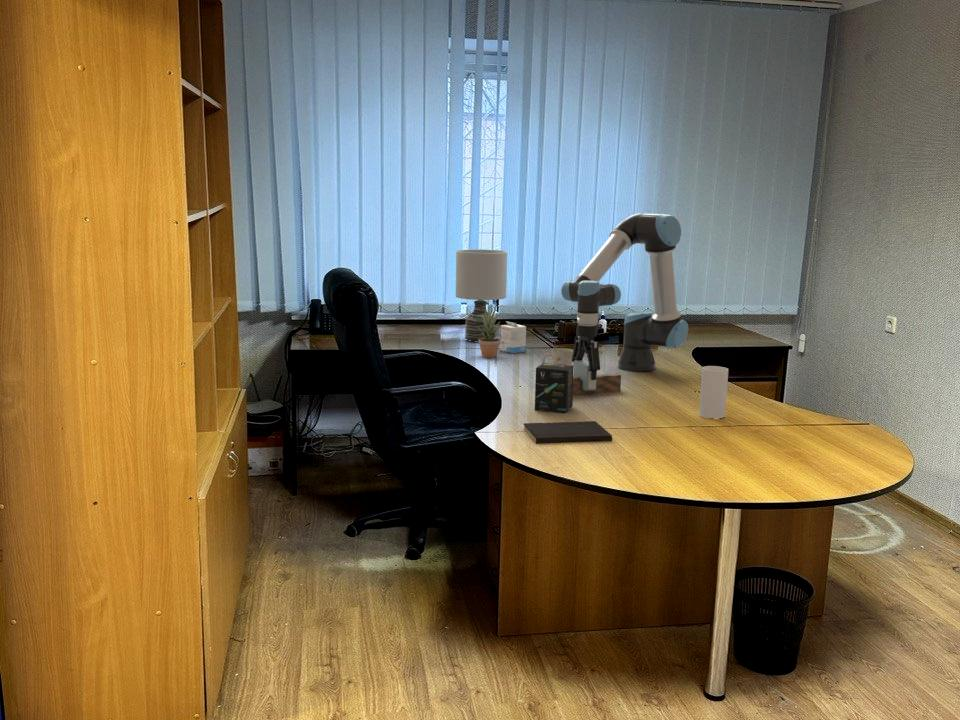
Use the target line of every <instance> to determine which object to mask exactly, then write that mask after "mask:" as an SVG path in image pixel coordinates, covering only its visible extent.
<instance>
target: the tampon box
mask: <svg viewBox="0 0 960 720" xmlns="http://www.w3.org/2000/svg"><path fill="white" fill-rule="evenodd" d="M573 376H574V364H573V365H561V364H553V363H546V362H545V363H543V364H542V363H541V364H540V365H538V366H537V367H536V368H535V384H534V385H535V387H534V388H535V389H534V390H535V391H534V411H539V412H547V413H549V412H550V413H551V412H552V413H558V414H559V413H560V414H566V413H567V412H568V411H570V409H571V408H572V407H573V405H574V404H573V399H574V398H573V397H574V395H573Z"/></svg>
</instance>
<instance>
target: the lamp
mask: <svg viewBox="0 0 960 720" xmlns="http://www.w3.org/2000/svg"><path fill="white" fill-rule="evenodd" d="M455 254H456V255H455V298H458V299H461V300H462V299H464V300H472V301H473V300H474V301H473V305H474V306H473V311H472V313H470V314H469V315H468V316H467V317H466V319H465V324H464V325H465V328H464V330H465V332H464V340H465V339H467V340H471V341H478V340H479V339H482V338H483V337H484V336H483V335H482V333H483V332H485V331H484V329H486V328H485V326H484V322H483V319H484V317H485V319H486V315H485V311H486V314H487V317H488V309H487V305H488V300H489V301H497V300H504V299H506V298H507V284H508V283H507V282H508V281H507V279H508V278H507V276H508V275H507V274H508V251H507V250H501V249H486V248H485V249H481V248H480V249H479V248H478V249H477V248H476V249H473V248H471V249H469V248H468V249H467V248H466V249H457V250H455ZM483 316H484V317H483ZM490 316H491V317H492V314H490ZM494 326H496V324H494ZM494 326H493V327H494ZM478 327H479V328H480V329H481V330H482V331H483V332H482V331H481V330H480V329H479V328H478ZM483 328H484V329H483ZM481 332H482V333H481ZM484 338H485V337H484ZM467 340H466V341H467Z"/></svg>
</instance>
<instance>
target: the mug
mask: <svg viewBox="0 0 960 720" xmlns="http://www.w3.org/2000/svg"><path fill="white" fill-rule="evenodd" d="M573 350H574V349H571V348H566V347H565V348H564V347H560V348H552V350H551V351H552V352H550V353H548V352H547V353H545V354H544V355H543V356H542V358H541V364H543V363H546V359H547V358H548V357H552V360H553V362H552V364H561V365H572V364H573V362H572V355H573Z"/></svg>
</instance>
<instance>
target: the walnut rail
mask: <svg viewBox="0 0 960 720" xmlns="http://www.w3.org/2000/svg"><path fill="white" fill-rule="evenodd" d="M621 385H622V375H621V374H620V373H617V372H616V373H605V374H604V373H602V374H597V380H596V390H589V391H586V390H583V389H582V388H583V384H580V377H577V376H574V375H573V396H574V395H585V394H598V393H599V394H600V393H601V394H602V393H613V392H621V387H622V386H621Z"/></svg>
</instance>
